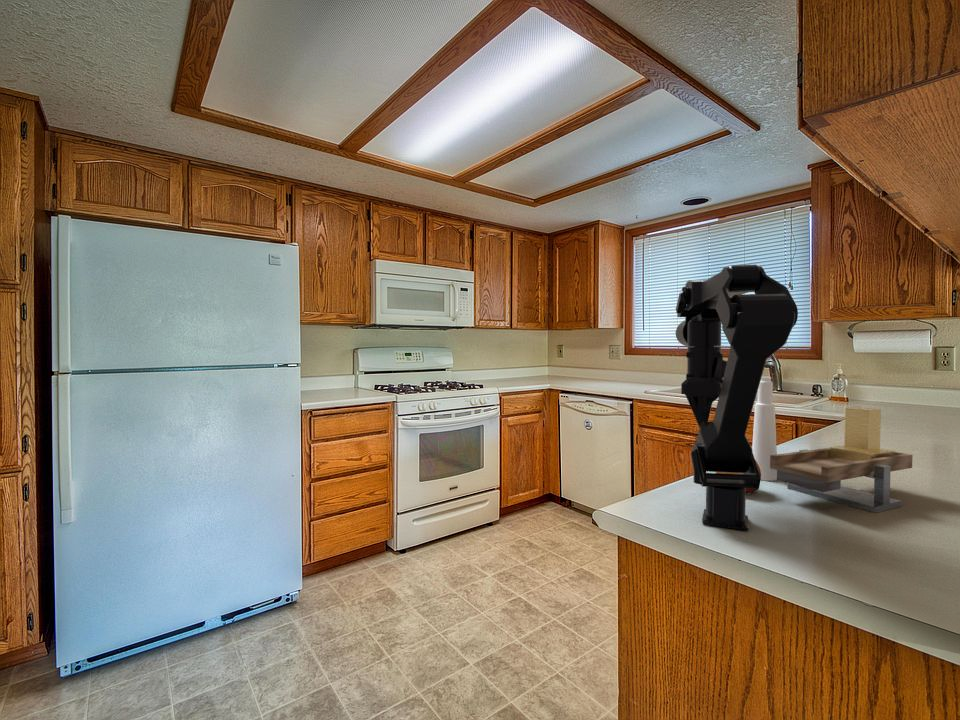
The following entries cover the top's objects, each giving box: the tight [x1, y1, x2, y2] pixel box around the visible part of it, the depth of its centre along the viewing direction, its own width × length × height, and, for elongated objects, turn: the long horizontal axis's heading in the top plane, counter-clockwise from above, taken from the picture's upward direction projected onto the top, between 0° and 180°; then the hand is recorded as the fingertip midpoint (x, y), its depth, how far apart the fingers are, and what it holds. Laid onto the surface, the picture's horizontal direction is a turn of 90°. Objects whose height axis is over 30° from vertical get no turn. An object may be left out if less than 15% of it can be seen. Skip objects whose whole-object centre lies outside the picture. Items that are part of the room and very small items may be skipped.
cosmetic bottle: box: [751, 376, 778, 482], centre depth 101 cm, size 6×6×22 cm
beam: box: [770, 447, 913, 492], centre depth 88 cm, size 26×11×4 cm, turn 113°
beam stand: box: [787, 449, 902, 514], centre depth 88 cm, size 8×15×8 cm, turn 23°
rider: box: [829, 406, 896, 462], centre depth 91 cm, size 8×7×10 cm
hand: (703, 429), depth 88 cm, fingers closed
